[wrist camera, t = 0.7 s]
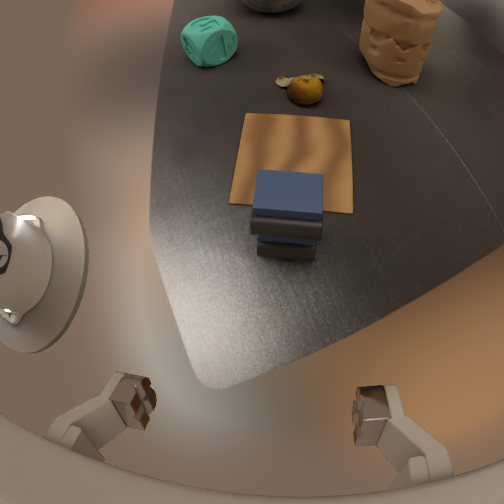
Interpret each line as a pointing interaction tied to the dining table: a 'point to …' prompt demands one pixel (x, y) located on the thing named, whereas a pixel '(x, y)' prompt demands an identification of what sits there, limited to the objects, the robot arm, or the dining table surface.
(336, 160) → the brown flat square board
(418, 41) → the container
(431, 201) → the dining table surface
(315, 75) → the fruit
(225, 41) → the decorative dice
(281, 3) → the cup
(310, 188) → the toy car
